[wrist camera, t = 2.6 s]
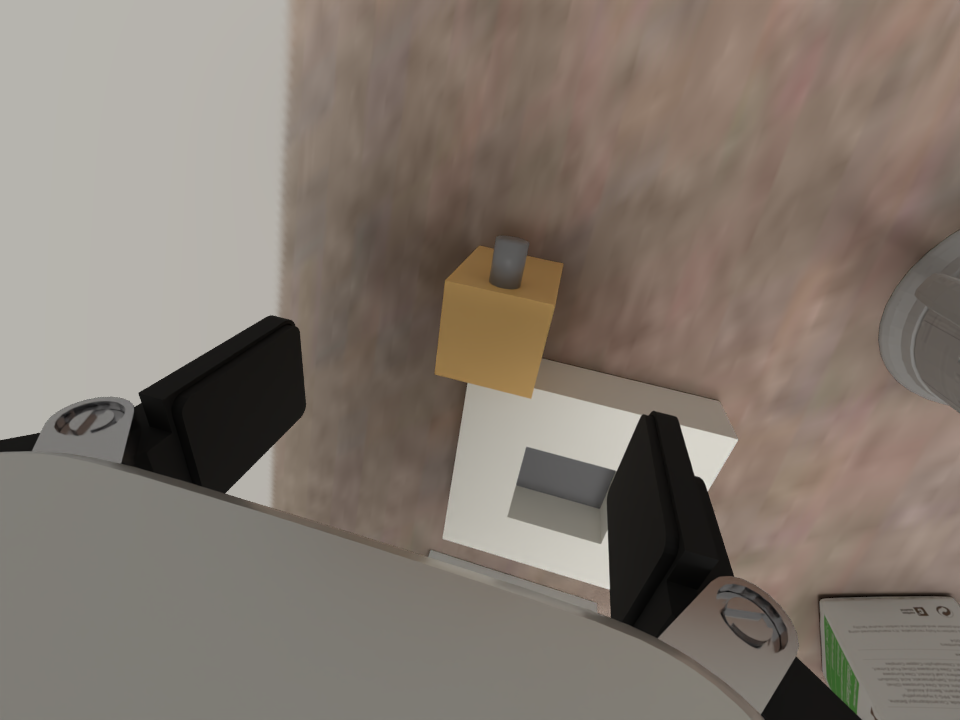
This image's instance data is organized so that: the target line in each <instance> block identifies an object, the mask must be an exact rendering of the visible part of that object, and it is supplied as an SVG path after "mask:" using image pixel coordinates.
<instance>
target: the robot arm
mask: <svg viewBox="0 0 960 720" xmlns="http://www.w3.org/2000/svg"><path fill="white" fill-rule="evenodd" d="M139 396H140V399H141V402H142V403H141V404H139V405H138V406H136V407H134V405H133V404H132V403H131V402H130V401H128V400H125V399H123V398H118V397H100V398H99V397H98V398H94V399H88V400H84V401H81V402H78V403H75V404H72V405H70V406H68V407H65V408H64V409H62V410H60V411H58V412H57V413H56V414H54V415H53V416H51V417H50V418H49V420H48V421H47V422H46V423H45V425H44V427H43V429H42V431H41V433H37V434H32V435H26V436H21V437H16V438H10V439H5V440H0V720H862V719H861V718H860V717H859V716H858V715H857V714H856V713H855V712H854V711H853V710H851V709H850V708H849V707H848V706H847V705H846V704H845V703H844V702H843V701H842V700H841V699H840V698H839V697H838V696H837V695H836V694H835V693H834V692H833V691H832V690H831V689H830V688H828V687H827V686H826V685H825V684H824V683H823V682H822V681H821V680H820V679H819V678H818V677H817V676H816V675H815V674H814V673H813V672H812V671H811V670H810V669H809V668H808V667H806V666H805V665H804V664H803V663H802V662H801V661H800V660H799V659H798V658H797V657H796V655H797V651H798V647H799V643H798V637H797V632H796V630H795V628H794V626H793V624H792V622H791V620H790V618H789V617H788V615H787V614H786V613H785V611H784V610H783V609H782V607H781V606H780V605H779V604H778V603H777V602H776V601H775V600H774V599H773V598H772V597H771V596H770V595H769V594H767V593H766V592H765V591H763V590H762V589H760V588H759V587H757V586H756V585H754V584H752V583H750V582H748V581H746V580H744V579H741V578H737V577H734V575H733V571H732V568H731V565H730V562H729V559H728V555H727V552H726V549H725V546H724V543H723V539H722V536H721V533H720V530H719V527H718V523H717V520H716V517H715V514H714V511H713V507H712V504H711V501H710V498H709V495H708V491H707V488H706V485H705V483H704V481H703V479H701V478H700V477H697V476H695V475H694V472H693V468H692V465H691V462H690V458H689V455H688V451H687V448H686V444H685V441H684V437H683V434H682V430H681V427H680V424H679V420H678V418H677V417H676V416H672V415H668V414H664V413H660V412H656V411H652V412H651V413H650V414H649V415H645V414H643V415H642V416H641V417H640V419H639V421H638V424H637V426H636V428H635V431H634V433H633V435H632V437H631V440H630V442H629V444H628V447H627V449H626V451H625V453H624V456H623V458H622V460H621V463H620V465H619V467H618V470H617V472H616V474H615V476H614V479H613V481H612V483H611V486H610V488H609V491H608V495H607V525H608V552H609V579H610V606H611V618H610V617H607V616H604V615H602V614H599V613H597V612H594V611H591V610H589V609H586V608H583V607H580V606H577V605H574V604H571V603H568V602H565V601H562V600H559V599H556V598H553V597H550V596H547V595H544V594H541V593H538V592H535V591H532V590H529V589H526V588H523V587H520V586H517V585H514V584H511V583H508V582H505V581H502V580H499V579H495V578H492V577H489V576H486V575H483V574H480V573H477V572H474V571H470V570H467V569H464V568H461V567H458V566H455V565H452V564H448V563H445V562H442V561H439V560H436V559H433V558H430V557H427V556H423V555H420V554H417V553H414V552H411V551H408V550H405V549H401V548H398V547H395V546H392V545H389V544H385V543H382V542H379V541H376V540H373V539H369V538H366V537H363V536H360V535H357V534H354V533H350V532H347V531H344V530H341V529H338V528H334V527H331V526H328V525H325V524H322V523H318V522H315V521H312V520H309V519H305V518H302V517H299V516H296V515H293V514H289V513H286V512H283V511H280V510H276V509H273V508H270V507H267V506H263V505H260V504H257V503H253V502H250V501H247V500H243V499H241V498H237V497H234V496H231V495H228V494H225V493H226V492H227V491H228V490H229V489H230V488H231V487H232V486H233V485H234V484H235V483H236V482H237V481H238V480H239V479H240V478H241V477H242V476H243V475H244V474H245V473H246V472H247V471H248V470H249V469H250V468H251V467H252V466H253V465H254V464H255V463H256V462H257V461H258V460H259V459H260V458H261V457H262V456H263V455H264V454H265V453H266V452H267V451H268V450H269V449H270V448H271V447H272V446H273V445H274V444H275V443H276V442H277V441H278V440H279V439H280V438H281V437H282V436H283V435H284V434H285V433H286V432H287V431H288V430H289V429H290V428H291V427H292V426H293V425H294V424H295V423H296V422H297V421H298V420H299V419H300V418H301V416H302V415H303V413H304V411H305V408H306V399H305V387H304V376H303V364H302V352H301V341H300V331H299V329H298V328H297V327H295V324H294V322H293V321H292V320H289V319H285V318H281V317H277V316H268V317H266V318H264V319H262V320H261V321H259V322H258V323H256V324H254V325H252V326H251V327H249V328H247V329H246V330H244V331H242V332H241V333H239V334H237V335H235V336H234V337H232V338H231V339H229V340H227V341H225V342H224V343H222V344H220V345H219V346H217V347H215V348H214V349H212V350H210V351H209V352H207V353H205V354H204V355H202V356H200V357H198V358H197V359H195V360H193V361H192V362H190V363H188V364H186V365H185V366H183V367H181V368H180V369H178V370H176V371H175V372H173V373H171V374H170V375H168V376H166V377H165V378H163V379H161V380H159V381H158V382H156V383H154V384H153V385H151V386H150V387H148V388H146V389H144V390H143V391H141V392H139Z"/></svg>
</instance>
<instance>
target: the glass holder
mask: <svg viewBox="0 0 960 720" xmlns="http://www.w3.org/2000/svg"><path fill="white" fill-rule="evenodd" d="M878 340H879V347H880V353H881V357H882V359H883V361H884V363H885V366H886V368H887V369H888V371H889V372H890V373H891V374H892V376H893V377H894V378H895V379H896V381H898V382H899V383H900V384H902V385H903V386H904V387H906V388H907V389H908V390H910V391H911V392H913V393H915V394H918V395H920V396H922V397H924V398H926V399H928V400H932V401H935V402H938V403H942V404H945V405H949V406H951V407H952V408H953V409H955V410H956V411H957V412H959V413H960V230H959V231H957V232H955V233H954V234H952V235H950V236H949V237H947V238H946V239H945V240H943V241H942V242H941V243H940V244H938V245H937V246H936V247H934V248H933V249H932V250H930V251H929V252H928V253H927V254H926V255H925V256H924V257H923V258H922V259H921V260H919V261H918V262H917V263H916V264H915V265H914V266H913V267H912V268H911V269H910V270H909V272H908V273H907V274H906V275H905V277H904V278H903V279H902V281H901V282H900V283H899V284H898V286H897V287H896V288H895V290H894V292H893V294H892V296H891V297H890V299H889V301H888V303H887V305H886V307H885V310H884V313H883V316H882V319H881V322H880V329H879V339H878Z"/></svg>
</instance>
